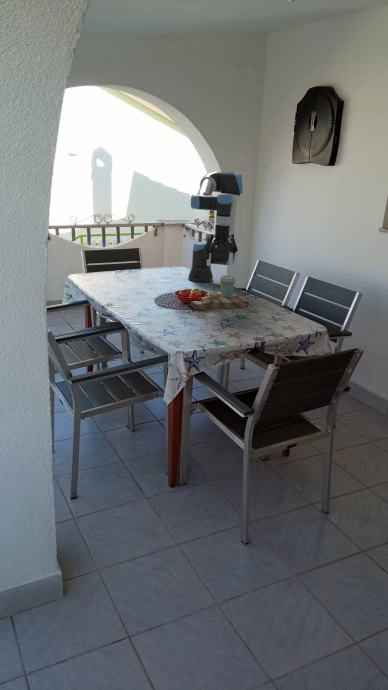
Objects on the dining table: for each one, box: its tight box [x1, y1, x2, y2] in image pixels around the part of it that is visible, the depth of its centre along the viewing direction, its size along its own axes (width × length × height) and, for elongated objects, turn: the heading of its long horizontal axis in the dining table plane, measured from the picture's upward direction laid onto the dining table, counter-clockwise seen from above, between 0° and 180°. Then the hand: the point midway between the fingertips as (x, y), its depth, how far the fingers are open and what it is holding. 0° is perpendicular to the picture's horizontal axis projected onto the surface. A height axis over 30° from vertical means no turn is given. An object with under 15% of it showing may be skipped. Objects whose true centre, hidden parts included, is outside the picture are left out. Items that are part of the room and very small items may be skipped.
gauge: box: [200, 291, 222, 303], centre depth 258 cm, size 12×6×4 cm, turn 126°
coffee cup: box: [219, 274, 236, 297], centre depth 276 cm, size 8×8×12 cm
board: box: [188, 295, 249, 311], centre depth 263 cm, size 30×10×3 cm, turn 116°
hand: (219, 265), depth 272 cm, fingers open, 13 cm apart
